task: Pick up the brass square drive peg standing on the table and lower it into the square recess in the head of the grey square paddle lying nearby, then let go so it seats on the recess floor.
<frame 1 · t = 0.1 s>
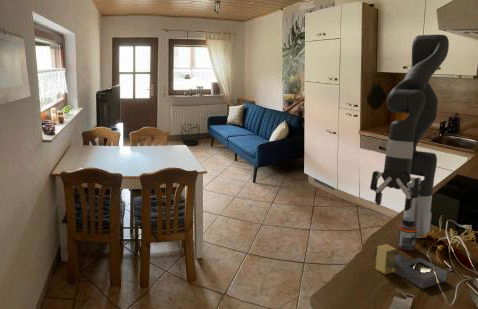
hand: (392, 207, 122), 22 cm above the counter, tool pointing down, fingers open, 8 cm apart
drive peg: (384, 270, 128), on the counter
grey square paddle: (420, 277, 124), on the counter
supplement bottle: (405, 248, 144), on the counter
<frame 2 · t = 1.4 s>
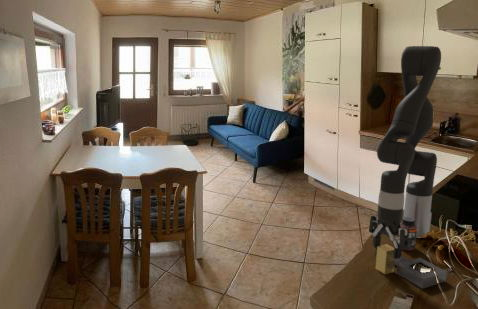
hand: (386, 252, 127), 6 cm above the counter, tool pointing down, fingers open, 8 cm apart
nothing on the counter moved.
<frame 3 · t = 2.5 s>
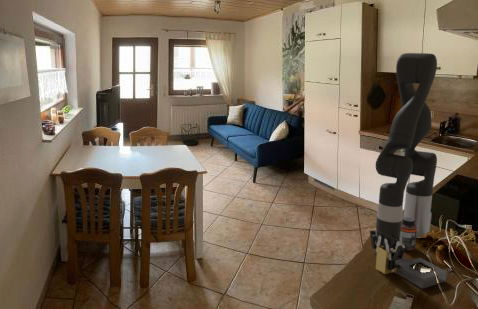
hand: (385, 266, 128), 1 cm above the counter, tool pointing down, fingers closed on drive peg, 4 cm apart
drive peg: (384, 270, 128), on the counter, touching gripper
everything else where it was.
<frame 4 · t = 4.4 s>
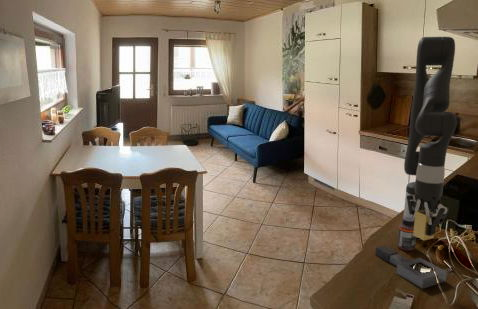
hand: (423, 232, 121), 15 cm above the counter, tool pointing down, fingers closed on drive peg, 4 cm apart
drive peg: (423, 236, 121), point 14 cm above the counter, touching gripper
everything else where it was.
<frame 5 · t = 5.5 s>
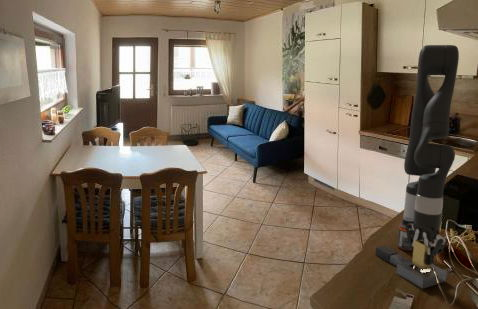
hand: (422, 260, 123), 6 cm above the counter, tool pointing down, fingers closed on drive peg, 4 cm apart
drive peg: (421, 265, 123), point 4 cm above the counter, touching gripper
everything else where it was.
when the fingers open (4 cm above the counter, at t = 6.1 s): drive peg drops 2 cm, resting on grey square paddle.
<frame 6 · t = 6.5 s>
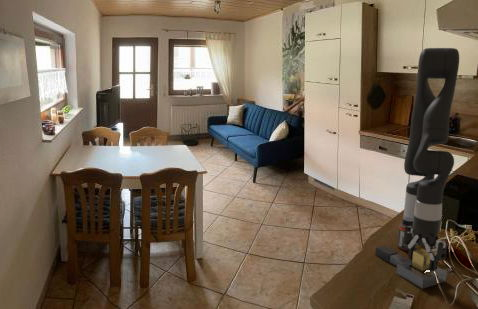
hand: (421, 264, 123), 4 cm above the counter, tool pointing down, fingers open, 7 cm apart
drive peg: (420, 275, 124), resting on grey square paddle
everything else where it was.
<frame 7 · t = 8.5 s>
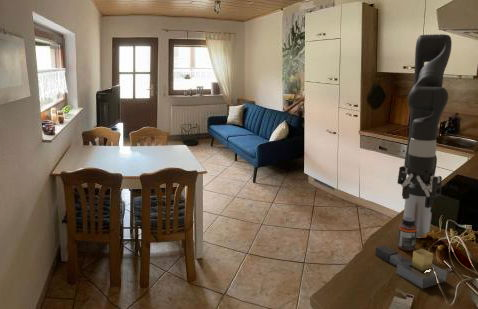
hand: (416, 202, 124), 23 cm above the counter, tool pointing down, fingers open, 8 cm apart
nothing on the counter moved.
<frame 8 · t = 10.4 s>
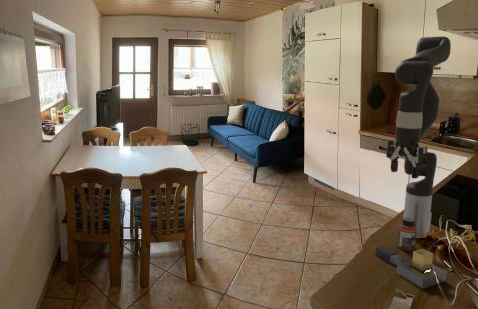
hand: (404, 174, 129), 30 cm above the counter, tool pointing down, fingers open, 8 cm apart
nothing on the counter moved.
at the end: drive peg 0.0 cm off-centre on the grey square paddle, point 0.5 cm above the grey square paddle's base; drive peg tilted 0°; the gripper is holding nothing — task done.
